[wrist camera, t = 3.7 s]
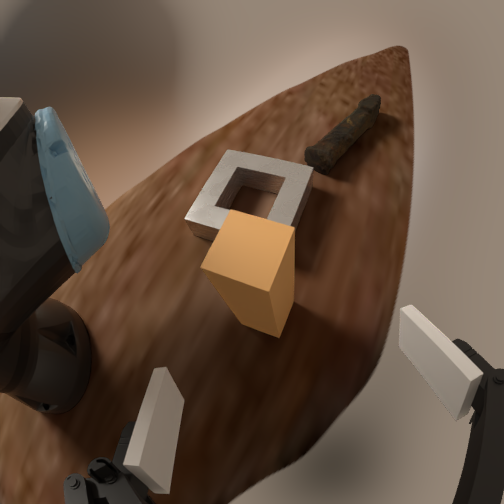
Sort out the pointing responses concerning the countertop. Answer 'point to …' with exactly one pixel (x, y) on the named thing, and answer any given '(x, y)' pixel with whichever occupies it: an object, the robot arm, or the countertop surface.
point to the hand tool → (343, 135)
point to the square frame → (255, 176)
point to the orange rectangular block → (254, 270)
